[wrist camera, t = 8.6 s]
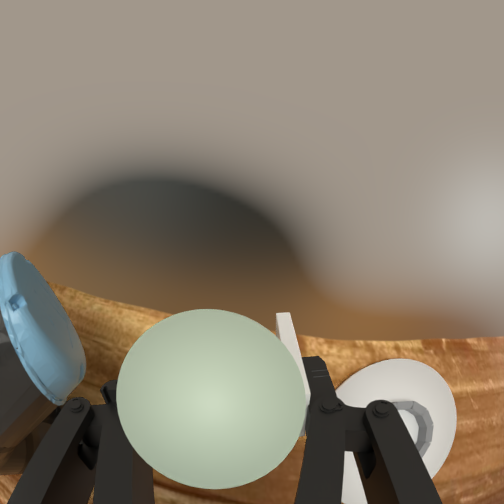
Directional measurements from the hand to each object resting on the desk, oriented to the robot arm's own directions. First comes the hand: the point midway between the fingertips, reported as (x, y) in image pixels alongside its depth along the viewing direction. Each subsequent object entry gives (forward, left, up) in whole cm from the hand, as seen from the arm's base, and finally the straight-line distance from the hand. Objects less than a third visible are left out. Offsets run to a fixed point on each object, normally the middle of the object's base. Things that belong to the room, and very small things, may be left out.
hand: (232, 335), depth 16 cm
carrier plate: (+19, -8, -18) cm, 27 cm away
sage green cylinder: (+1, -4, -3) cm, 5 cm away
